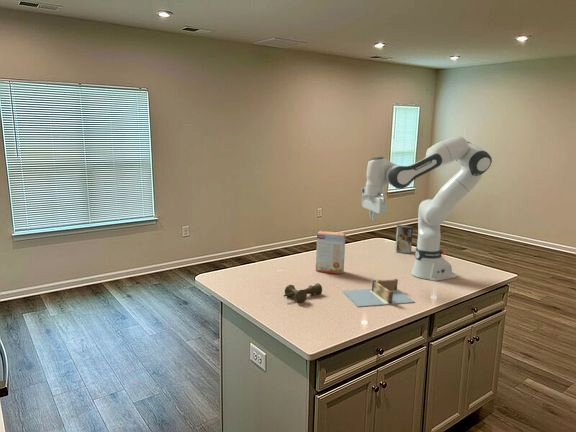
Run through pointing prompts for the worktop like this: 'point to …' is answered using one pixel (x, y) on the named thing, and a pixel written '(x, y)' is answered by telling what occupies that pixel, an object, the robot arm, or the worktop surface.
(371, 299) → the card
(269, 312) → the worktop surface
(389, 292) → the tan wooden bar
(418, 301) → the worktop surface
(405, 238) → the coffee box
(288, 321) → the worktop surface
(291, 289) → the kendama
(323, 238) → the cracker box
